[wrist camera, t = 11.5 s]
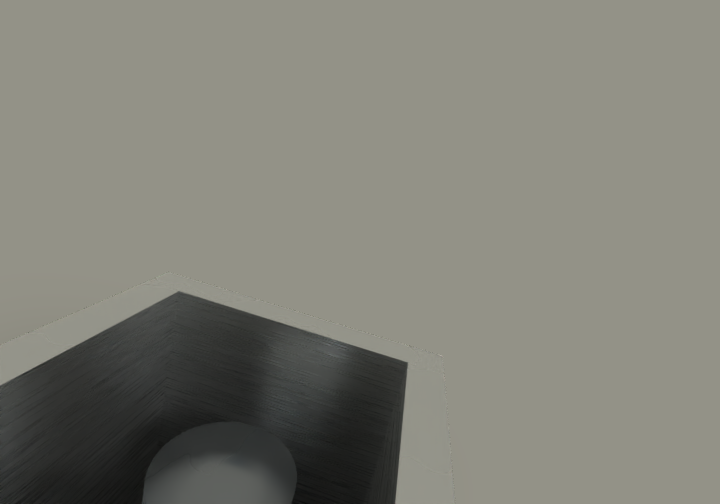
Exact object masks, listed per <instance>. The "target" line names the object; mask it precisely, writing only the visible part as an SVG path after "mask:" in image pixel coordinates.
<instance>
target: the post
mask: <svg viewBox="0 0 720 504" xmlns="http://www.w3.org/2000/svg"><path fill="white" fill-rule="evenodd" d="M296 483H297V471H296V466H295V463H294V460H293V457H292V455H291V453H290V452H289V450H288V449H287V447H286V446H285V445H284V444H283V443H282V442H281V441H280V440H279V439H278V438H276V437H275V436H274V435H272V434H271V433H269V432H267V431H265V430H263V429H261V428H259V427H256V426H253V425H249V424H245V423H239V422H214V423H209V424H204V425H200V426H197V427H194V428H191V429H189V430H187V431H185V432H183V433H181V434H179V435H177V436H176V437H174V438H173V439H171V440H170V441H169V442H167V443H166V444H165V445H164V446H163V447H162V448H161V449H160V450H159V451H158V453H157V454H156V455H155V456H154V458H153V460H152V461H151V463H150V465H149V468H148V470H147V473H146V477H145V483H144V490H143V498H142V504H292V501H293V497H294V493H295V489H296Z"/></svg>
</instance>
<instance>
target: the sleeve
mask: <svg viewBox="0 0 720 504" xmlns="http://www.w3.org/2000/svg"><path fill="white" fill-rule="evenodd" d="M444 377H445V376H444V364H443V356H440V355H437V354H434V353H431V352H427V351H424V350H421V349H418V348H415V347H412V346H408V345H405V344H402V343H399V342H395V341H392V340H389V339H386V338H382V337H379V336H376V335H373V334H369V333H366V332H363V331H360V330H356V329H353V328H350V327H347V326H343V325H340V324H337V323H334V322H330V321H327V320H324V319H321V318H317V317H314V316H311V315H308V314H304V313H301V312H297V311H295V310H291V309H288V308H285V307H282V306H278V305H275V304H272V303H269V302H265V301H262V300H259V299H255V298H252V297H249V296H246V295H243V294H239V293H236V292H233V291H230V290H226V289H223V288H219V287H217V286H213V285H210V284H207V283H204V282H200V281H197V280H194V279H191V278H187V277H184V276H180V275H178V274H174V273H171V272H167V273H165V274H163V275H160V276H158V277H156V278H154V279H151V280H149V281H146V282H144V283H142V284H140V285H137V286H135V287H132V288H130V289H128V290H126V291H123V292H121V293H119V294H116V295H114V296H112V297H110V298H107V299H105V300H102V301H100V302H98V303H96V304H93V305H91V306H89V307H86V308H84V309H82V310H79V311H77V312H75V313H72V314H70V315H68V316H66V317H63V318H61V319H59V320H56V321H54V322H52V323H49V324H47V325H45V326H43V327H40V328H38V329H35V330H33V331H31V332H28V333H26V334H24V335H22V336H19V337H17V338H15V339H12V340H10V341H8V342H5V343H3V344H1V345H0V504H142V498H143V490H144V483H145V477H146V473H147V470H148V468H149V465H150V463H151V461H152V460H153V458H154V456H155V455H156V454H157V453H158V451H159V450H160V449H161V448H162V447H163V446H164V445H165V444H166V443H167V442H169V441H170V440H171V439H173V438H174V437H176V436H177V435H179V434H181V433H183V432H185V431H187V430H189V429H191V428H194V427H197V426H200V425H204V424H209V423H214V422H239V423H245V424H249V425H253V426H256V427H259V428H261V429H263V430H265V431H267V432H269V433H271V434H272V435H274V436H275V437H276V438H278V439H279V440H280V441H281V442H282V443H283V444H284V445H285V446H286V447H287V449H288V450H289V452H290V453H291V455H292V457H293V460H294V463H295V466H296V471H297V483H296V489H295V493H294V497H293V501H292V504H455V495H454V483H453V471H452V460H451V448H450V435H449V424H448V411H447V400H446V388H445V378H444Z"/></svg>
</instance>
